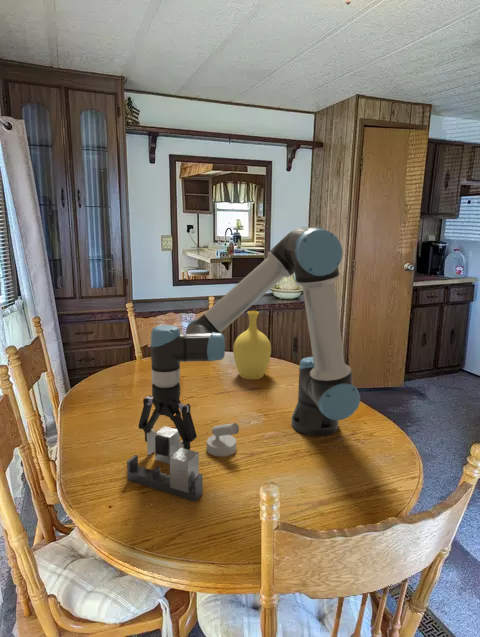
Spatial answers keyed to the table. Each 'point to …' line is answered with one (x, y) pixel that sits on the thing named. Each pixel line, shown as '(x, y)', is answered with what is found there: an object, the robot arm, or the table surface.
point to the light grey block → (166, 443)
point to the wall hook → (222, 440)
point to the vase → (252, 350)
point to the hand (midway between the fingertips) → (167, 457)
